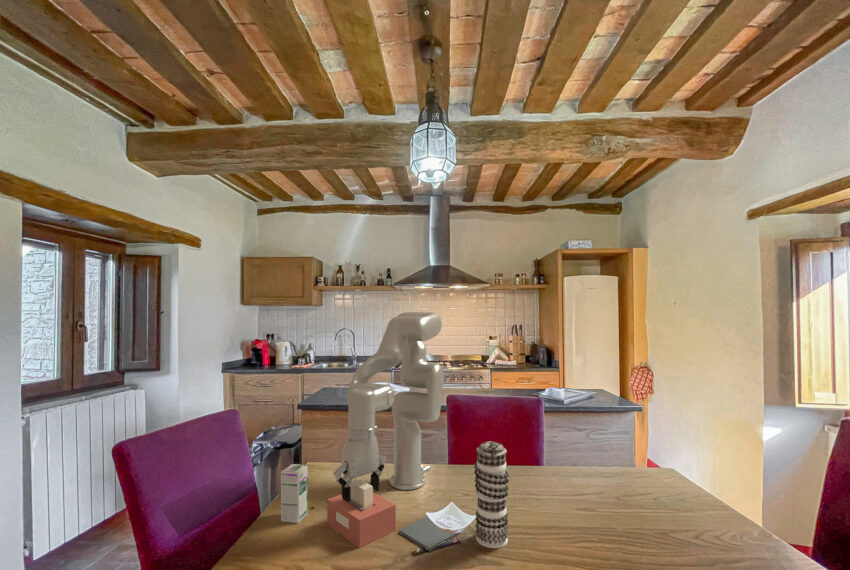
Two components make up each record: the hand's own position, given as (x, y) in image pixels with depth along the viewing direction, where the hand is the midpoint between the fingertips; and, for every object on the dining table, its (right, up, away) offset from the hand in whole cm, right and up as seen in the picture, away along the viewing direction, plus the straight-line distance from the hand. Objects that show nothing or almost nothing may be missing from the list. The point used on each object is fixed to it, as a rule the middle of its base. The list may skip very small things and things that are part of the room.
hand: (360, 494), depth 118 cm
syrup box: (-20, -10, +5) cm, 23 cm away
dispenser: (0, -9, 0) cm, 9 cm away
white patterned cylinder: (+36, -9, -6) cm, 38 cm away
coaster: (+19, -9, -3) cm, 22 cm away
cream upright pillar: (0, -6, 0) cm, 6 cm away
